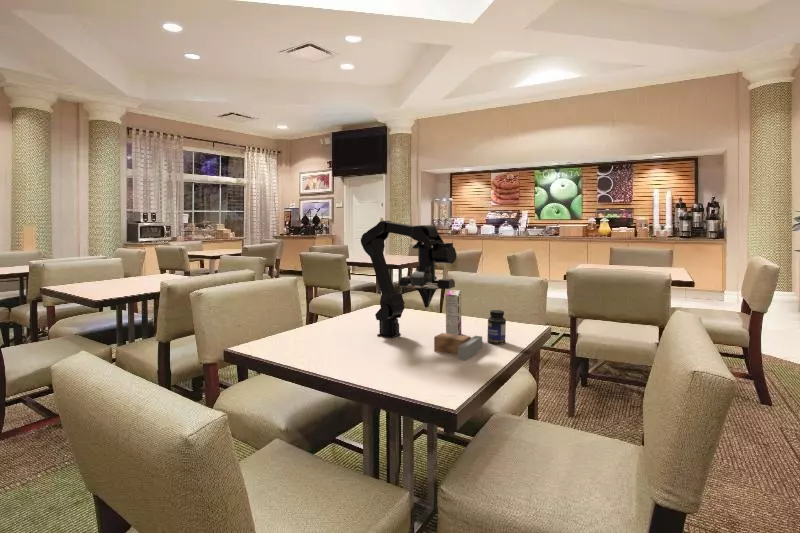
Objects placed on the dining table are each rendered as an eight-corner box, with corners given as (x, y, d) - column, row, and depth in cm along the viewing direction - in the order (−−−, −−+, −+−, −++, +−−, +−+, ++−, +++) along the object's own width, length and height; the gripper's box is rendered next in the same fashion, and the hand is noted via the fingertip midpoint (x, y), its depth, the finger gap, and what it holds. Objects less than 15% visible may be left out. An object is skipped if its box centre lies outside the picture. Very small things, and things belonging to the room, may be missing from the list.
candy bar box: (448, 333, 178) (448, 289, 176) (461, 333, 177) (461, 290, 175) (445, 340, 167) (445, 294, 166) (459, 341, 166) (459, 295, 165)
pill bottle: (483, 342, 164) (484, 311, 163) (493, 339, 169) (493, 308, 168) (499, 345, 160) (500, 313, 159) (508, 342, 164) (509, 311, 163)
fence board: (458, 359, 145) (458, 346, 145) (475, 347, 158) (475, 335, 158) (465, 360, 144) (465, 347, 144) (482, 348, 157) (482, 336, 157)
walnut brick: (434, 352, 154) (434, 336, 153) (442, 347, 159) (442, 333, 159) (462, 356, 149) (463, 340, 148) (470, 351, 154) (470, 336, 154)
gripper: (391, 263, 159) (391, 308, 160) (441, 265, 150) (441, 314, 151) (406, 260, 169) (407, 303, 170) (455, 262, 159) (455, 308, 161)
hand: (426, 307), depth 163 cm, fingers closed
